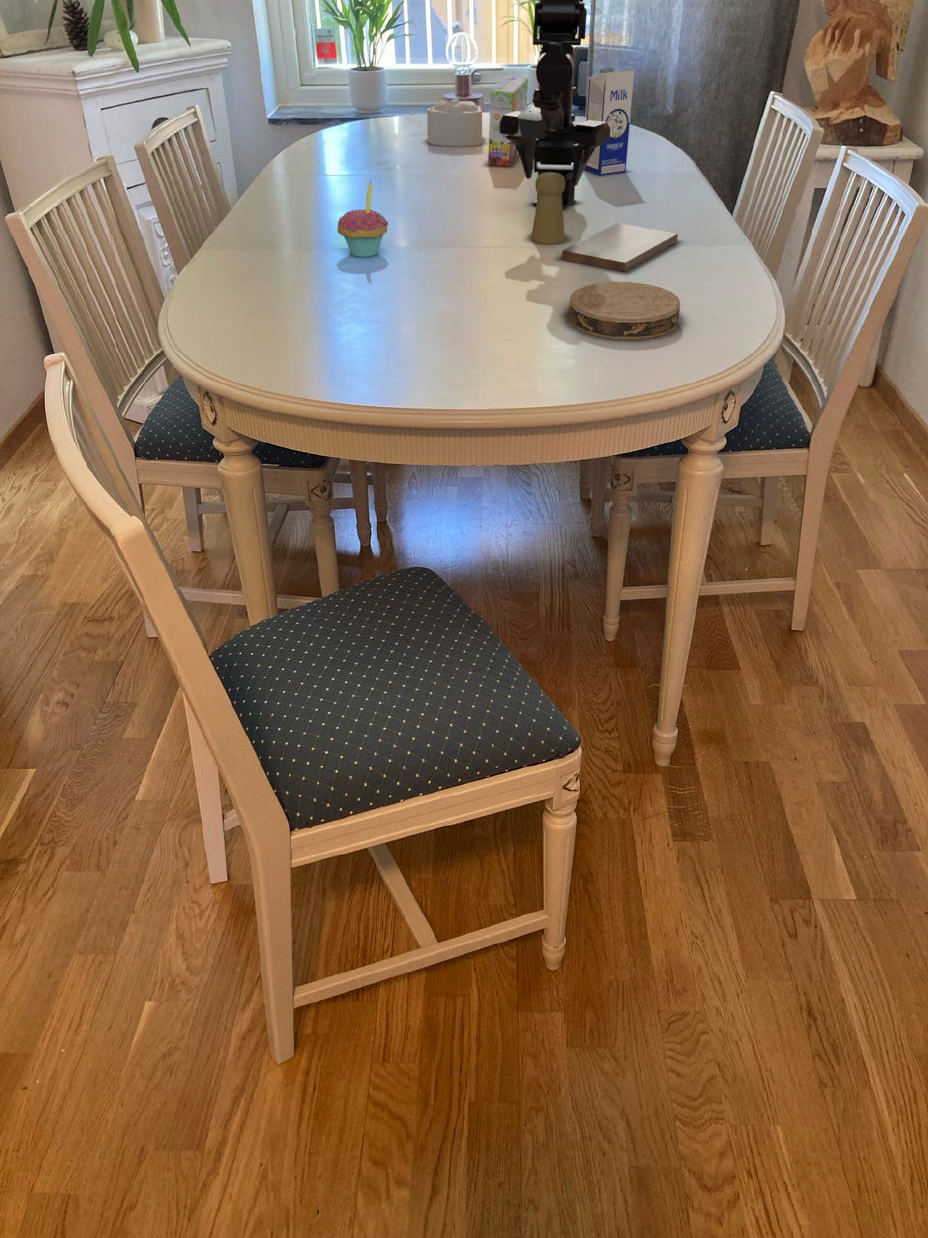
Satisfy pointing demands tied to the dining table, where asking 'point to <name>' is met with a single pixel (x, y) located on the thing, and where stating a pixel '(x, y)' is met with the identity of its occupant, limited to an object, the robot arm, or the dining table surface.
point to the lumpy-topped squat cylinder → (455, 123)
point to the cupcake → (363, 229)
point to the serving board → (620, 247)
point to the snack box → (502, 102)
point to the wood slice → (624, 310)
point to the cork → (549, 209)
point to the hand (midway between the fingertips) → (551, 181)
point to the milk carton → (610, 118)
